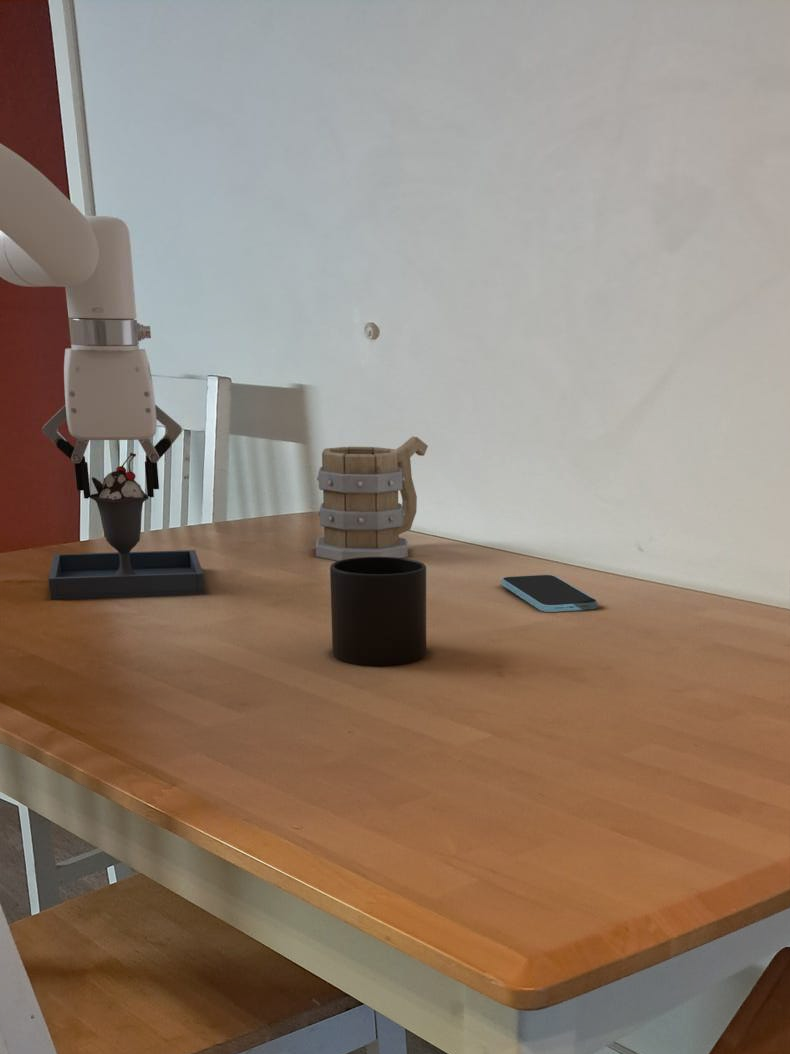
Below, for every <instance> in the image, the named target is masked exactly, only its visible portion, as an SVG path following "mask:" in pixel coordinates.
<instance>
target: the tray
mask: <svg viewBox="0 0 790 1054" xmlns="http://www.w3.org/2000/svg"><path fill="white" fill-rule="evenodd" d="M129 557H130V565H131V568H132V570H133V571H134V572H135V573H136V574H138V575H114V574H116V573H117V572H118V570H119V566H120V557H119V552H118V551H115V552H113V551H112V552H83V553H81V552H80V553H79V552H77V553H53V555H52V559H51V560H52V561H51V566H50V571H49V575H48V587H49V594H50V601H63V600H64V601H65V600H89V599H115V598H140V597H143V598H144V597H145V598H146V597H169V596H171V597H172V596H193V595H194V596H196V595H197V596H198V595H199V596H200V595H205V594H206V593H205V579H204V572H203V569H202V566H201V563H200V560H199V557H198V554H197V551H196V550H195V549H187V550H186V549H182V550H155V551H154V550H150V551H148V550H147V551H130V553H129Z"/></svg>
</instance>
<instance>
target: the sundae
mask: <svg viewBox="0 0 790 1054" xmlns="http://www.w3.org/2000/svg"><path fill="white" fill-rule="evenodd" d="M136 456H137V454H136V453H133V452H130V453H129V456H128V457H127V458H126V460H125V461H124V462H123V464H122V465H119V466H117V467H116V469H115V471H112V472H109V473H108V474H106V475H105V477H103V481H102V482H101V481H100V480H99V479H97V478H95V477H94V476H92V477H91V481H92V483H93V485H94V488H95V490H96V492H97V493H92V494H90V497H89V499H91V500H93V501H95V503H96V505H97V509H98V511H99V516H100V520H101V526H102V529H103V533H104V537H105V540H106V542H107V543H108V545H109V546H110V547H112V548H113V549H115V550H116V552H119V557H120V566H119V570H118V572H117V573H116V574H114V575H138V574H136V573H135V572H134V571H133V570H132V568H131V565H130V557H129V553H130V552H132V549H134V548H135V547H136V546H137V545H138V543H139V542H140V540H141V534H142V533H141V531H142V513H143V505H144V502H145V501H148V500H149V496H148V494H147V492H146V493H145V491H144V490H143V488H142V487H141V484H139V483H138V482H137V481H136V480H135V479H136V473H134V472H133V471H132V470H131V461H132V460H133V459H134V458H135V457H136ZM128 460H129V461H128ZM127 462H128V466H127V467H128V471H127V469H126V467H124V466H125V465H126V463H127Z"/></svg>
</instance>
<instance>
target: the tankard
mask: <svg viewBox="0 0 790 1054" xmlns="http://www.w3.org/2000/svg"><path fill="white" fill-rule="evenodd" d="M428 447H429V446H428V444H427V443H425V441H423V440H422V439H421V438H419V437H417V436H411V437H410V438H408V440H406V441H405V442H404V443H403V444H401V445H400V446H399V447H397V448H396V449H395V448H387V447H379V446H375V447H374V446H339V447H338V446H337V447H329V448H328V447H326V448H324V449H323V450H322V452H321V461H322V462H321V463H322V464H321V465H322V466H321V467H319V469H318V475H317V477H316V481H318V489H319V490H321V491H322V494H323V496H322V498H323V499H322V500H323V502H321V504H320V506H319V511H318V512H317V515H318V516H319V525H320V526H321V527H324V528H323V529H324V530H323V531H324V532H323V533H324V537H318V539H316V543H315V557H316V558H321V559H325V560H331V561H334V562H337V561H340V560H344V559H350V558H360V557H395V558H405V559H407V558H408V556H409V553H408V552H409V549H408V540H407V538H405V537H399V535H401V534H403V533H406V532H408V531H411V529H412V526H413V523H414V521H415V517H416V515H417V506H418V505H417V504H418V496H417V492H416V488H415V485H414V481H413V477H412V465H411V464H412V463H411V458H412V456H414V455H415V454H416V456H421V457H424V456H425V455H426V452H427V451H428ZM399 492H400V496H401V499H402V500H401V503H399Z"/></svg>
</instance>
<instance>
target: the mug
mask: <svg viewBox="0 0 790 1054" xmlns="http://www.w3.org/2000/svg"><path fill="white" fill-rule="evenodd" d="M329 576H330V577H329V579H330V582H329V583H330V611H331V612H330V614H331V645H332V646H331V647H332V654H333V657H334V658H335V659H337V660H338V661H340V662H343V663H346V664H350V665H355V666H361V667H362V666H363V667H395V666H403V665H408V664H412V663H415V662H418V661H421V660H423V659H424V658H425V656H426V654H427V566H426V564H425V563H423V562H421V561H418V560H415V559H411V558H395V557H360V558H350V559H344V560H340V561H334V562H332V563H331V564H330V566H329Z"/></svg>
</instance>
